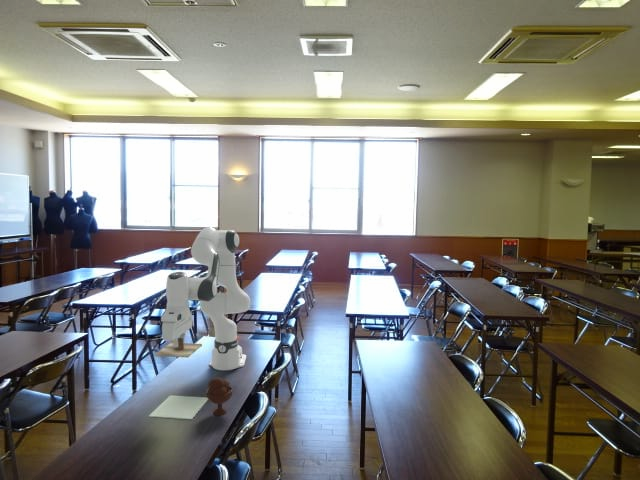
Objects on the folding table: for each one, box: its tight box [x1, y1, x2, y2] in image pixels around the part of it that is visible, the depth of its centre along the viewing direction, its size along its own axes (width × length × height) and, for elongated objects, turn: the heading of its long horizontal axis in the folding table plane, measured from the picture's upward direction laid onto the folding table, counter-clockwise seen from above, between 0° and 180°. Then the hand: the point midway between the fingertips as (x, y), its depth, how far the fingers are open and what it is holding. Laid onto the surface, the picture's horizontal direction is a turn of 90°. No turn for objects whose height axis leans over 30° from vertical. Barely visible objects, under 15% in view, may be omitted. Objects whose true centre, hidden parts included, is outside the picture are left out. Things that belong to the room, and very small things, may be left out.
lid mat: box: [148, 394, 209, 420], centre depth 175 cm, size 18×18×1 cm
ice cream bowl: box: [205, 376, 234, 416], centre depth 171 cm, size 11×11×15 cm
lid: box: [154, 337, 203, 359], centre depth 173 cm, size 14×14×5 cm
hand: (179, 344), depth 173 cm, fingers closed on lid, 4 cm apart
